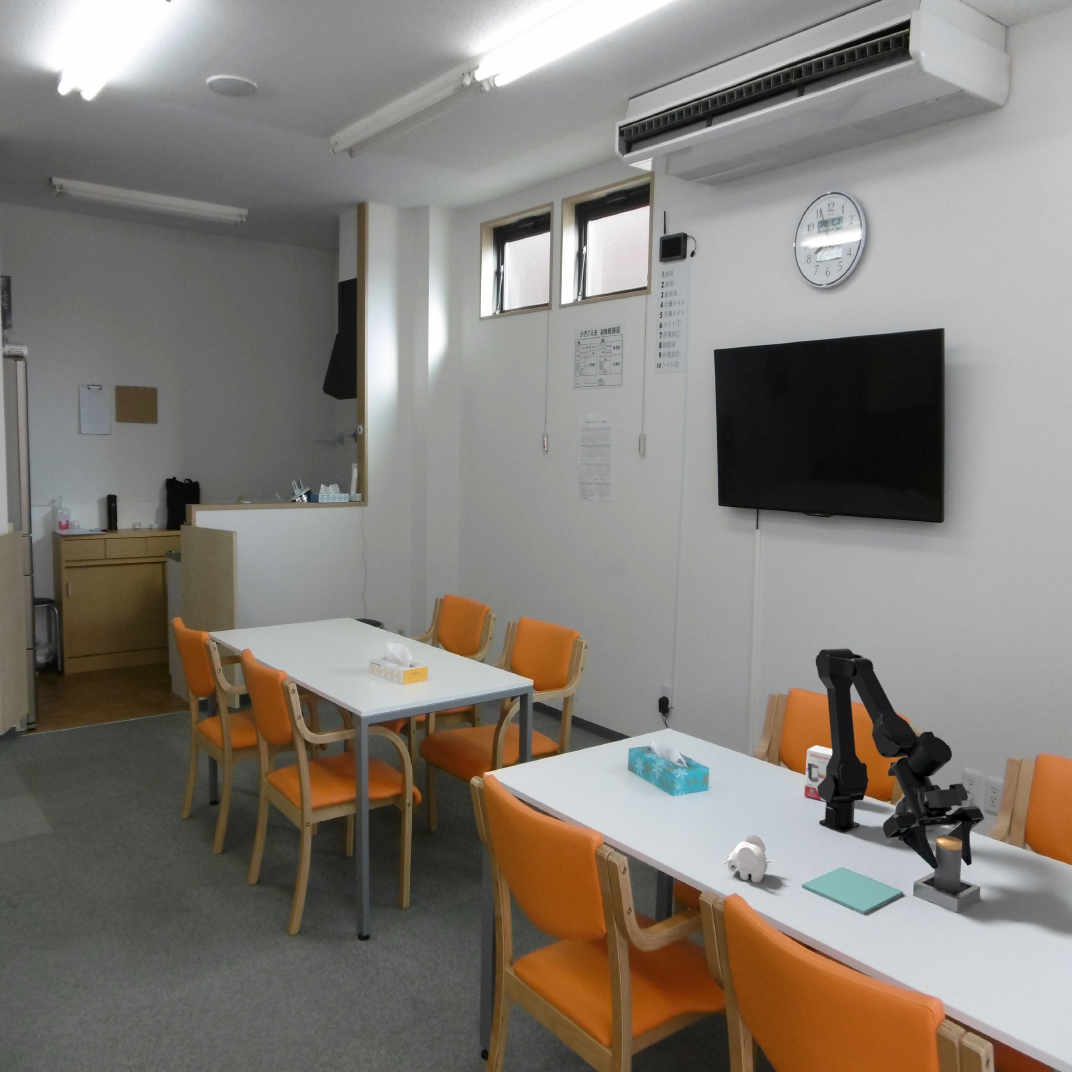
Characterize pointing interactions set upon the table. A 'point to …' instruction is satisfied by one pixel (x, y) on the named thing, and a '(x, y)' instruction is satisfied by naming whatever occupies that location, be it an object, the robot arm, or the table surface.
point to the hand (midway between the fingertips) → (953, 866)
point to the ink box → (816, 769)
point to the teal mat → (852, 890)
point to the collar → (946, 894)
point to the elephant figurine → (749, 859)
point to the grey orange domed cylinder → (948, 864)
